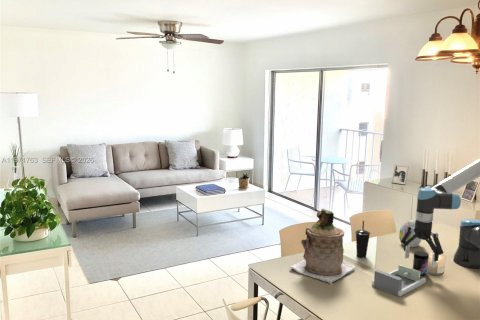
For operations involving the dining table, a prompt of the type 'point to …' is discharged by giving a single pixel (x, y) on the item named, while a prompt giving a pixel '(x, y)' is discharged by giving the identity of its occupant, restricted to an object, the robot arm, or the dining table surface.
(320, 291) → the dining table surface
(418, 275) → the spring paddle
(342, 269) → the cookie jar
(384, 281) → the pusher lane
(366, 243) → the drinking cup
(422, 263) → the supplement container
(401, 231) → the decorative egg
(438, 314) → the dining table surface
